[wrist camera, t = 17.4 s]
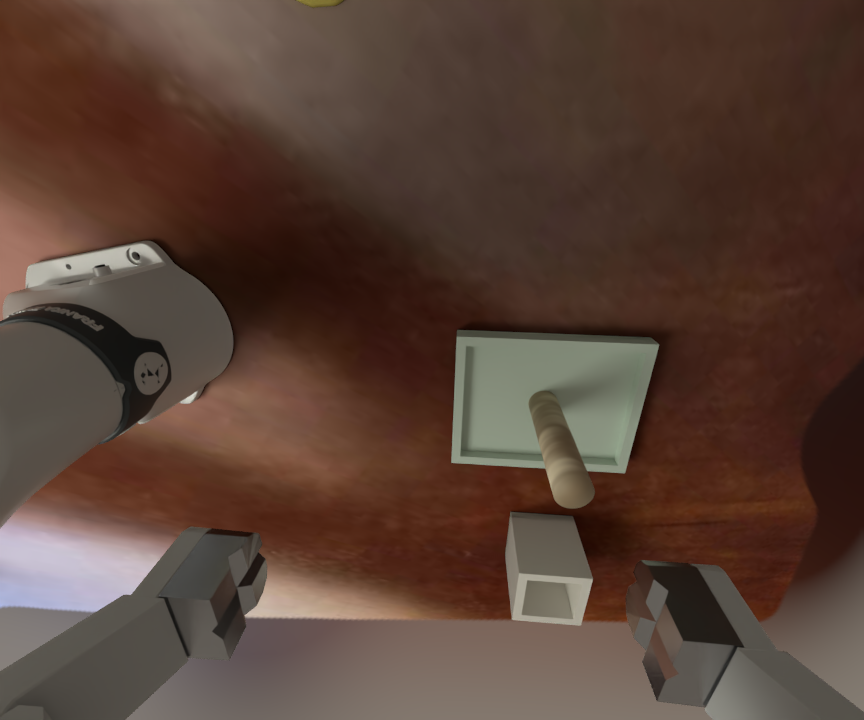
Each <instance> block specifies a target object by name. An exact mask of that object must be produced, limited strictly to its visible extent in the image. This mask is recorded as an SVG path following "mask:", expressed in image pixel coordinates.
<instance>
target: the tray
mask: <svg viewBox="0 0 864 720" xmlns="http://www.w3.org/2000/svg"><path fill="white" fill-rule="evenodd" d="M658 348H659V344H658V343H657V342H656V341H655V340H653V339H652V338H651V337H628V336H603V335H577V334H551V333H526V332H500V331H474V330H457V342H456V366H455V390H454V414H453V438H452V461H451V463H463V464H480V465H497V466H513V467H530V468H545V464H544V460H543V457H542V453H541V449H540V446H539V442H538V438H537V435H536V431H535V428H534V424H533V420H532V417H531V413H530V409H529V405H528V403H529V399H530V398H531V396H532V395H533V394H535V393H536V392H539V391H549V392H551V393H553V394H554V395H555V396H556V397H557V400H558V402H559V404H560V407H561V409H562V412H563V414H564V417H565V419H566V421H567V424H568V426H569V429H570V431H571V434H572V436H573V438H574V441H575V443H576V446H577V448H578V450H579V453H580V455H581V458H582V460H583V463H584V465H585V467H586V470H587V471H597V472H613V473H625V471H626V467H627V463H628V460H629V456H630V452H631V449H632V445H633V441H634V437H635V434H636V430H637V426H638V422H639V419H640V415H641V411H642V408H643V404H644V400H645V396H646V393H647V389H648V385H649V381H650V378H651V374H652V370H653V367H654V363H655V359H656V355H657V352H658Z"/></svg>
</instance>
